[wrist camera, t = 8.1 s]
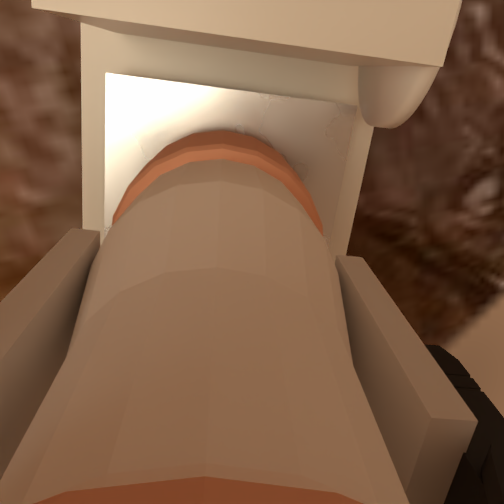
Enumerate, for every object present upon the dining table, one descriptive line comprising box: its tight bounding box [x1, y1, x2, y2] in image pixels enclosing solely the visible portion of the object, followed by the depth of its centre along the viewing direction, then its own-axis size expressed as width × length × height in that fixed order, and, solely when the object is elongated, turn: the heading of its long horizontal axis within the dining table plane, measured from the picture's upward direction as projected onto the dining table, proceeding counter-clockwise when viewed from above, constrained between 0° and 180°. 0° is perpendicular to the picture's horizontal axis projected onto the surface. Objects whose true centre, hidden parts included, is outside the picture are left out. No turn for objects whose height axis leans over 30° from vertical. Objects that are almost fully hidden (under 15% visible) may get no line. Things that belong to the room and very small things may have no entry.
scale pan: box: [104, 72, 358, 249], centre depth 20 cm, size 10×10×1 cm
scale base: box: [31, 0, 462, 264], centre depth 18 cm, size 18×13×12 cm
